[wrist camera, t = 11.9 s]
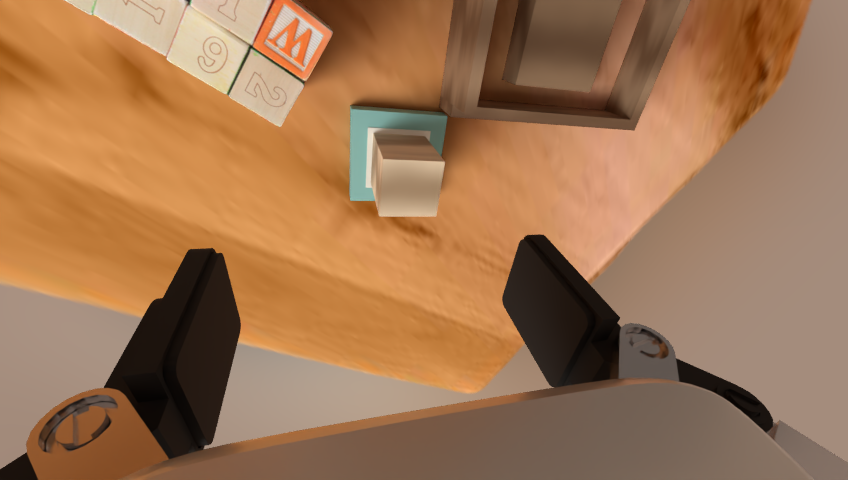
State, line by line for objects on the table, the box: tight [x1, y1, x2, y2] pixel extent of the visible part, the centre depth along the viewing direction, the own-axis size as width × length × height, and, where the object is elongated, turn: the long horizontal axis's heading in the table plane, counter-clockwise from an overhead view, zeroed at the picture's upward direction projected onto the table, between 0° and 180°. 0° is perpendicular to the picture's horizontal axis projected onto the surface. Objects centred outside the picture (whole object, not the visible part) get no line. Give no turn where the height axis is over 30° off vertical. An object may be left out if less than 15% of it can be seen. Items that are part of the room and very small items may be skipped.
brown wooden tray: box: [439, 0, 690, 130], centre depth 30 cm, size 14×20×7 cm
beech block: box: [371, 133, 445, 216], centre depth 32 cm, size 5×5×7 cm
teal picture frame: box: [350, 105, 448, 201], centre depth 35 cm, size 9×9×2 cm
